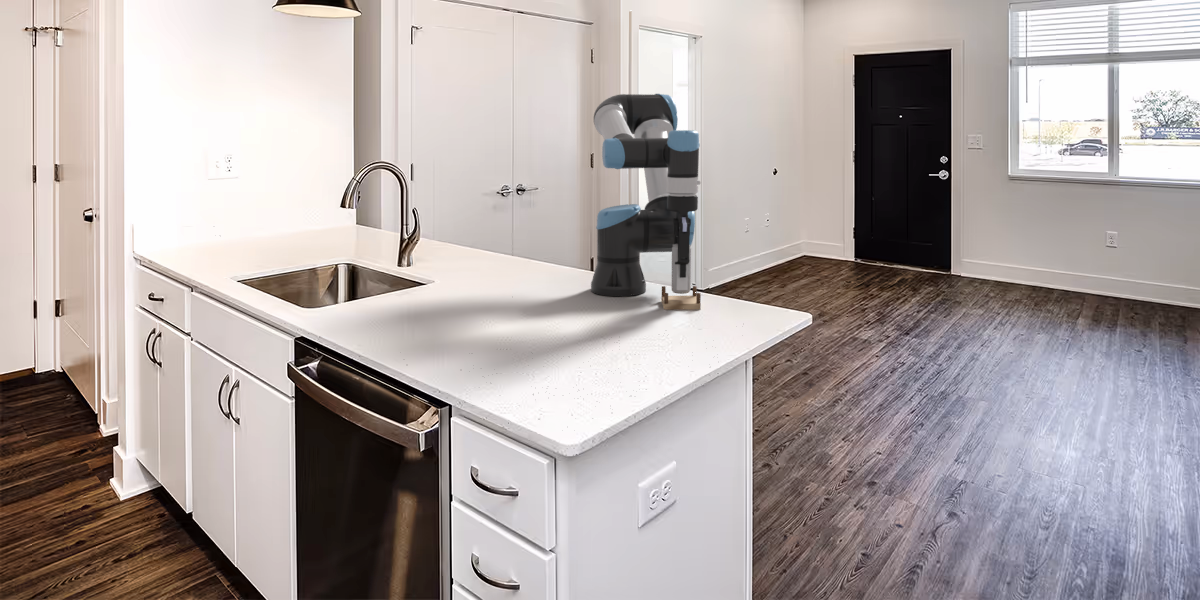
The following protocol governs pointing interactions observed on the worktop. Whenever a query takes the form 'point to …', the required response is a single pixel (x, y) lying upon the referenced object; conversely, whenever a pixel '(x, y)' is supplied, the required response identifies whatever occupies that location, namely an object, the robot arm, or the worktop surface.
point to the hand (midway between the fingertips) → (680, 287)
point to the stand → (681, 301)
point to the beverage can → (674, 270)
